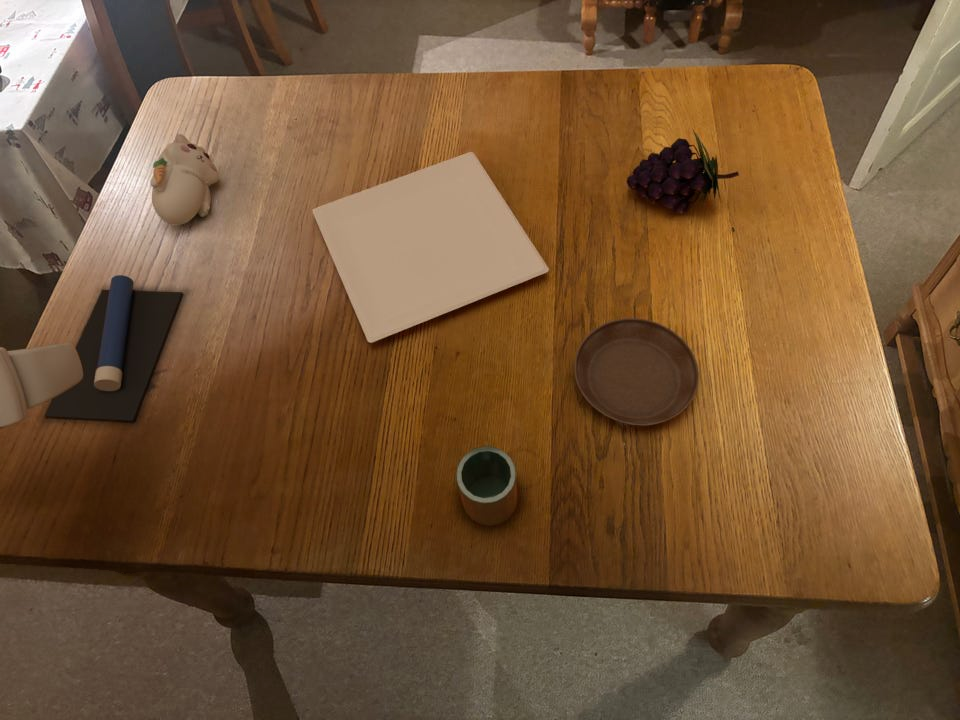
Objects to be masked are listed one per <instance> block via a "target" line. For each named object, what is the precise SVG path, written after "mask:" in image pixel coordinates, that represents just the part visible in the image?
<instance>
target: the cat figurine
mask: <svg viewBox="0 0 960 720" xmlns="http://www.w3.org/2000/svg"><path fill="white" fill-rule="evenodd" d="M210 157H211V156H210V155H209V154H208V153H207V152H206V150H205V149H204V147H202V146H198V145H197V144H195V143H193V142H190V141H189V140H188V138H187V137H186V136H185V135H184V134H182V133H178V134H176V135H175V137H174V140H173V142H170V143H169V144H168V145H166V147H165V148H164V149H163V150H162V152H161V153H160V155H159V156H158V158H157V160H155V161H154V162H153V165H152V168H153V171H152V174H153V175H152V177H151V178H150V181H149V182H150V186H151V187H152V190H151V202H152V207H153V210H154V211H155V214H157V216H158V217H159V218H160V219H161V220H162V221H164V222H165V223H167V224H169V225H172V226H180V225H181V226H182V225H185V224H187V223H188V222H190V221H191V220H192V219H193V218H194V217H195V216H197V214H198V215H199V217H201V218H205V217H206V216H208V215H209V211H210V209H211V201H212V199H211V192H210V188H209V187H211V185H213V184H215V183H217V182H218V181H219V179H220V174H219V171H218V169H217V167H216V165H215V164H214V163H213V161H212V159H211V158H210Z"/></svg>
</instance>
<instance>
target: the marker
mask: <svg viewBox="0 0 960 720" xmlns="http://www.w3.org/2000/svg"><path fill="white" fill-rule="evenodd" d="M109 290H110V291H109V297H108V303H107V310H106V316H105V322H104V329H103V335H102V341H101V348H100V354H99V360H98V367H97V370H96V374H95V380H94V386H95V387H96V388H97V389H100V390H103V391H115V390H118V389H119V388H120V387H121V380H122V366H123V359H124V352H125V344H126V337H127V329H128V322H129V314H130V307H131V299H132V292H133V291H134V280H133V279H132V278H131V277H130V276H127V275H124V274H123V275H122V274H118V275H117V274H116V275H114V276H112V277H111V279H110V284H109Z"/></svg>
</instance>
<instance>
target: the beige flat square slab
mask: <svg viewBox="0 0 960 720" xmlns="http://www.w3.org/2000/svg"><path fill="white" fill-rule="evenodd" d="M311 212H312V214H313V217H314V219H315V221H316V223H317V226H318V228H319V231H320V233H321V236H322V237H323V240H324V242H325V244H326V247H327V249H328V252H329V254H330V257H331V258H332V261H333V263H334V266H335V268H336V270H337V272H338V275H339V277H340V280H341V282H342V285H343V287H344V289H345V292H346V294H347V296H348V298H349V301H350V303H351V306H352V308H353V310H354V313H355V315H356V317H357V319H358V322H359V324H360V327H361V329H362V331H363V333H364V336H365V339H366V341H367V343H371V344H373V343H375V342H377V341H380V340H382V339H385V338H387V337H390V336H393V335H395V334H397V333H399V332H402V331H404V330H408V329H410V328H413V327H414V326H416V325H420V324H421V323H424V322H427V321H430V320H431V319H434V318H437V317H440V316H441V315H444V314H447V313H449V312H452V311H454V310H457V309H460V308H461V307H465V306H467V305H469V304H472V303H474V302H477V301H479V300H482V299H485V298H486V297H489V296H492V295H494V294H497V293H499V292H501V291H505V290H507V289H509V288H511V287H514V286H517V285H519V284H522V283H524V282H527V281H529V280H532V279H534V278H536V277H539V276H542V275H544V274H546V273H548V272H549V270H550V268H549V267H548V265H547V264H546V262H545V261H544V258H543V257H542V256H541V255H540V253H539V251H538V249H537V248H536V247H535V245H534V243H533V242H532V240H531V239H530V237H529V236H528V234H527V233H526V231H525V230H524V228H523V227H522V224H521V223H520V221H519V220H518V219H517V217H516V216H515V214H514V212H513V211H512V210H511V208H510V206H509V205H508V203H507V202H506V201H505V199H504V197H503V196H502V194H501V192H500V191H499V189H498V188H497V186H496V185H495V184H494V181H493V179H492V178H491V177H490V176H489V174H488V172H487V171H486V169H485V168H484V167H483V165H482V163H481V162H480V160H479V159H478V157H477V155H476V154H475V153H474V152H473V151H468V152H466V153H463V154H460V155H457V156H455V157H452V158H449V159H446V160H444V161H441V162H438V163H435V164H433V165H430V166H427V167H425V168H422V169H419V170H416V171H413V172H410V173H408V174H406V175H402V176H400V177H397V178H393V179H391V180H389V181H385V182H383V183H380V184H377V185H374V186H372V187H369V188H367V189H364V190H361V191H358V192H355V193H352V194H350V195H347V196H344V197H341V198H339V199H336V200H333V201H330V202H328V203H325V204H323V205H320V206H317V207H314V208H313V209H312V211H311Z"/></svg>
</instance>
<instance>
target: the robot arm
mask: <svg viewBox="0 0 960 720" xmlns="http://www.w3.org/2000/svg"><path fill="white" fill-rule="evenodd" d="M75 348H76V346H74V345H73V344H72V343H69V342H62V343H61V342H60V343H53V344H47V345H40V346H35V347H28V348H21V349H13V350H7V349H6V348H5V347H2V346H0V429H4V428H6V427H9V426H14V425H16V424H18V423H20V422H23V421H25V420H26V419H27V418H28V417H29V410H30V409H33V408H36V407H38V406H41V405H43V404H45V403H48V402H49V401H51V400H52V399H53V398H55V397H56V396H58V395H60V394H62V393H63V392H65V391H67V390H68V389H70V388H71V387H73V386H74V385H76V384H77V383H79V382H80V381H81V380H82V378H83V369H82V365H81V361H80V358H79V355H78V353H77V351H76V349H75Z"/></svg>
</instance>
